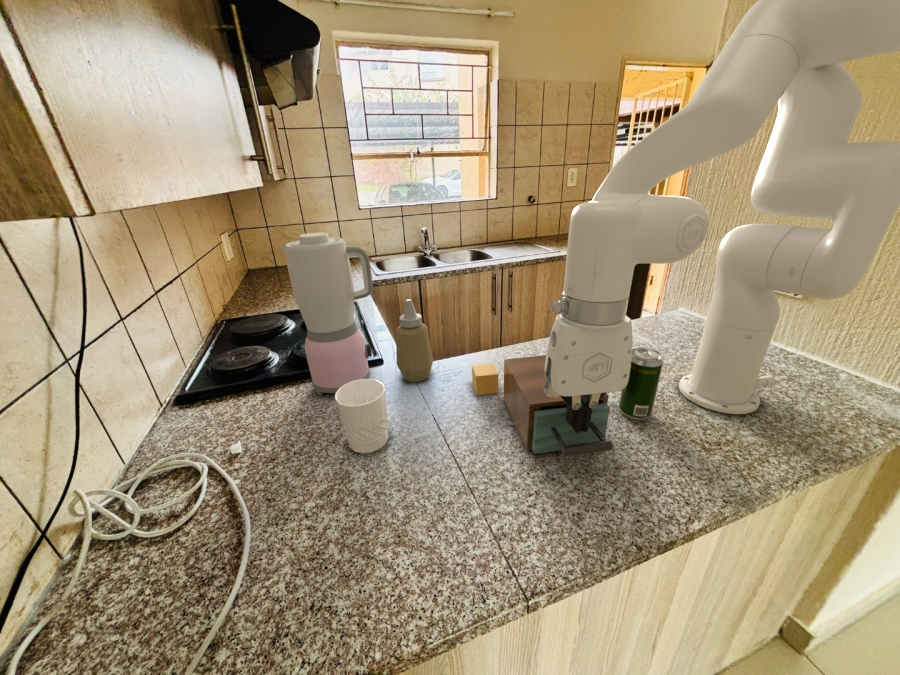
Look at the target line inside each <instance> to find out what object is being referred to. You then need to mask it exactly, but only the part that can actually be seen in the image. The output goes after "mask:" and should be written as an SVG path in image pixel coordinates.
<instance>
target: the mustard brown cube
mask: <svg viewBox="0 0 900 675" xmlns="http://www.w3.org/2000/svg"><path fill="white" fill-rule="evenodd" d="M471 380H472V381H471V382H472V387H473V390H474V393H475V396H484V395H493V394H498V393H499V373H498V371H497V369H496V367H495V365H494V363H485V364H484V363H483V364H476V365H475V364H474V365H473V364H472V365H471Z"/></svg>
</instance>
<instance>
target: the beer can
mask: <svg viewBox="0 0 900 675" xmlns="http://www.w3.org/2000/svg"><path fill="white" fill-rule="evenodd" d="M663 366H664V355H663V353H661V352H660V351H659V350H656V349H654V348H650V347H641V346H640V347H634V348H632V359H631V368H630V374H629V380H628V383H627V385H626V387H625V388H623V389H621V391H620V392H621V393H620V398H619V403H618V408H619V411H620V413H621V414H622V415H623V416H624V417H626V418H627V419H630V420H635V421H645V420H647V419H648V418H650V417H651V415H652V414H653V410H654V405H655V402H656V401H655V400H656V396H657V392H658V388H659V384H660V379H661V375H662V372H663Z"/></svg>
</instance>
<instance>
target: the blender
mask: <svg viewBox="0 0 900 675" xmlns="http://www.w3.org/2000/svg"><path fill="white" fill-rule="evenodd" d="M279 248H280V249H281V250H282V251H283V253H284V254H285V255H284V256H285V260H286V266H287V271H288V276H289V281H290V284H291V288H292V293H293V296H294V300H295V302H296V305H297V307H298V310H299V312H300V315H301V317H302V319H303V321H304V324H305V327H306V337H305V340H304V352H305V356H306V361H307V364H308V365H307V366H308V369H309V374H310V376H311V383H312V384H311V385H312V386H313V388H314V391H315V393H316V394H317V395H319V396H323V395H324V393H325V394H335V393H336V392H337V390H338V389H339V388H340V387H342V386H343V385H345V384H347V383H349V382H351V381H355V380H359V379H370V378H369V377H370V374H371V373H370V367H369V360H368V359H369V357H372V356H373V354H372V346H371V344H370V343H367V342H365V341H366V338H365V335H364V334H363V333H362V331H361V329H360V328H359V327H358V325H357V324H356V320H355V300H360V299H363V298H366V297H369V296H370V295H372V293H373V289H374V288H373V286H374V285H373V275H372V269H371V261H370V257H369V254H368V252H366V250H365V249H363V248H361V247H358V246H357V247H356V246H347V244H346V241H345V239H343V238H342V237H334V236H330V237H329V233H328V232H322V231H321V232H308V233H303V234H300V235H299V236H298V240H294V241H290V242H288V243H286V244H283V245H280V246H279ZM349 257H358V258H359V260H360V266H361V273H362V279H363V288H362V289H358V290H355V286H354V279H353V274H352V267H351V261H350V258H349Z"/></svg>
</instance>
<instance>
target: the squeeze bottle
mask: <svg viewBox="0 0 900 675" xmlns="http://www.w3.org/2000/svg"><path fill="white" fill-rule="evenodd" d="M404 305H405V306H404V314H401V315H400V316H399V325H398V326H397V327H396V329H395V334H396V336H395V338H396V339H395V340H396V343H395V344H396V366H397V367H398V370H399V371H400V373H401V376H402V378H403V380H405V381H407V382H409V383H419V382H423V381H425V380H427V379H428V378H429V376H430V374H431V370H432V367H433V363H434V358H433V357H434V356H433V352H432V347H431V342H430V336H429V331H428V326H427V325H426V323H423V317H422V314H420V313H417V312H416V308H415V305H414V303H413V300H412V299H411V298H407V299H405V304H404Z"/></svg>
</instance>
